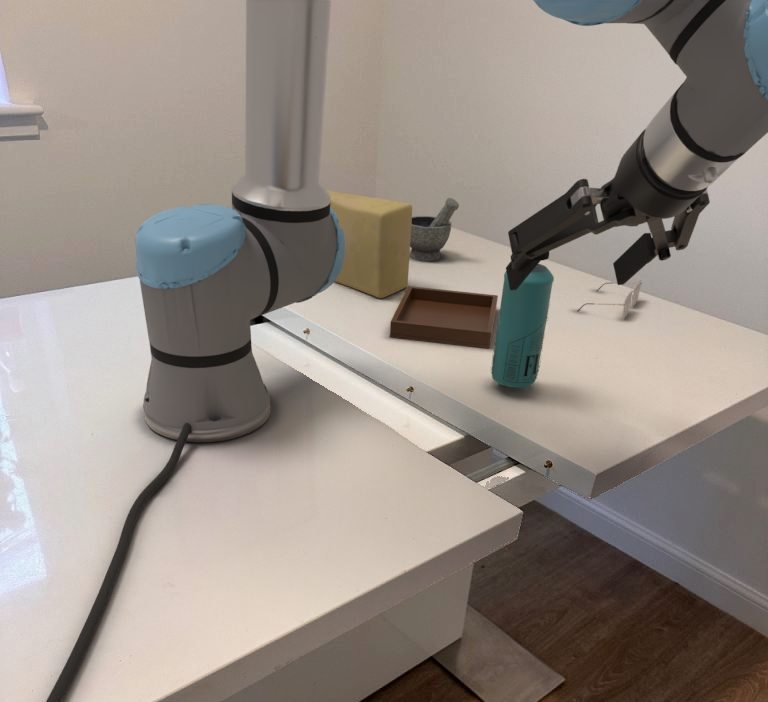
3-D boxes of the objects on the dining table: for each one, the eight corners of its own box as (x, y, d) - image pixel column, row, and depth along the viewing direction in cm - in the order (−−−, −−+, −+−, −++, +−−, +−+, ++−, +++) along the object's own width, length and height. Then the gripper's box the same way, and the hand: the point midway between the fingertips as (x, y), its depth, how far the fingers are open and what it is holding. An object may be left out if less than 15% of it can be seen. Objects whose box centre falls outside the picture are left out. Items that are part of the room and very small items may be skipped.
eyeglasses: (621, 321, 123) (625, 298, 120) (575, 315, 126) (578, 292, 124) (639, 299, 133) (643, 277, 130) (596, 294, 136) (599, 272, 134)
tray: (489, 348, 110) (491, 332, 109) (389, 337, 112) (390, 321, 111) (495, 310, 125) (498, 295, 123) (407, 300, 127) (408, 285, 125)
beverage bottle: (521, 402, 96) (547, 249, 84) (478, 388, 99) (498, 238, 87) (543, 387, 100) (571, 238, 88) (502, 373, 103) (524, 228, 92)
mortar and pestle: (393, 257, 147) (396, 195, 140) (414, 247, 154) (418, 187, 147) (443, 267, 143) (448, 203, 136) (462, 256, 150) (468, 195, 143)
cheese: (283, 274, 135) (280, 189, 126) (315, 262, 142) (314, 181, 133) (380, 301, 126) (384, 210, 117) (409, 287, 132) (415, 200, 124)
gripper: (555, 198, 58) (469, 312, 79) (808, 194, 64) (667, 301, 85) (538, 115, 59) (458, 249, 80) (788, 118, 65) (653, 242, 86)
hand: (565, 276), depth 82 cm, fingers open, 13 cm apart
